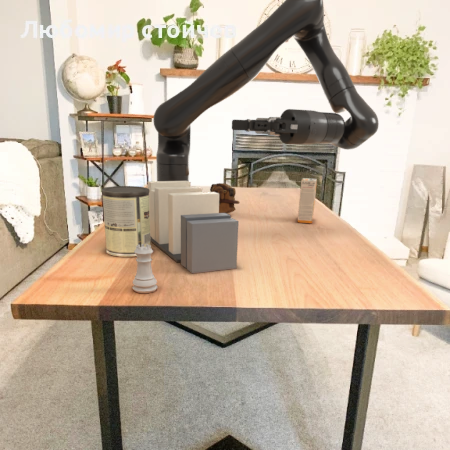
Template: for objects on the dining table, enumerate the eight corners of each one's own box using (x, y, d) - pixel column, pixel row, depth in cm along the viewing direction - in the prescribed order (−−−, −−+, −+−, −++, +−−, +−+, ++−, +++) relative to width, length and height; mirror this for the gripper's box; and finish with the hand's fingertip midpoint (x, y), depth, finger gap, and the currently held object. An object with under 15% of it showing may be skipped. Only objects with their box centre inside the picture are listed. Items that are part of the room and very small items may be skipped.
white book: (168, 251, 101) (167, 193, 96) (212, 247, 106) (213, 191, 101) (173, 254, 99) (172, 195, 94) (217, 250, 103) (219, 193, 98)
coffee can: (107, 245, 106) (103, 185, 101) (150, 245, 108) (149, 186, 103) (103, 257, 97) (99, 191, 91) (151, 256, 98) (149, 192, 93)
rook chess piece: (133, 285, 81) (131, 242, 78) (158, 285, 81) (157, 242, 78) (131, 294, 77) (128, 249, 74) (157, 294, 77) (155, 249, 74)
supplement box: (312, 223, 139) (317, 181, 134) (297, 222, 140) (301, 180, 135) (313, 219, 146) (317, 178, 142) (298, 218, 147) (302, 177, 142)
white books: (144, 236, 116) (143, 180, 111) (187, 233, 121) (187, 180, 116) (177, 262, 95) (176, 195, 90) (227, 257, 100) (229, 193, 95)
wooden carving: (196, 210, 153) (197, 181, 150) (205, 209, 157) (206, 180, 153) (233, 218, 143) (234, 186, 140) (242, 216, 147) (243, 185, 143)
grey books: (180, 264, 94) (180, 214, 90) (223, 260, 98) (224, 212, 94) (192, 273, 88) (192, 221, 85) (236, 268, 92) (238, 218, 89)
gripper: (287, 110, 108) (227, 107, 101) (323, 109, 96) (258, 105, 89) (284, 142, 111) (226, 141, 104) (319, 145, 99) (255, 144, 92)
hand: (241, 125), depth 97 cm, fingers open, 8 cm apart
